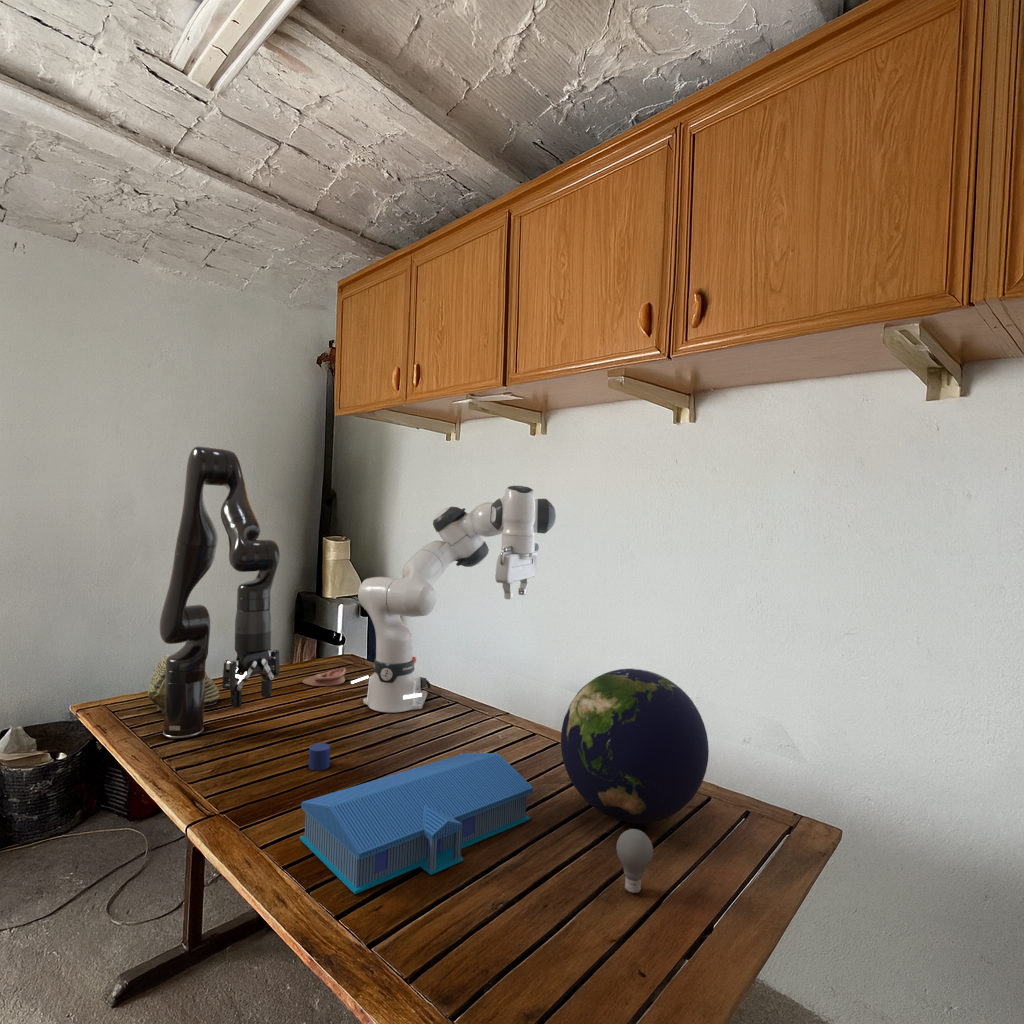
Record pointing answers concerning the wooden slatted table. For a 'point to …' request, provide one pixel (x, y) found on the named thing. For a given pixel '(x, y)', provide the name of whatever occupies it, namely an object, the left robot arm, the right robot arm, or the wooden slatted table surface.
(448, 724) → the wooden slatted table surface
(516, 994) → the wooden slatted table surface
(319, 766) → the canister
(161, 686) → the fossil
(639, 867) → the light bulb
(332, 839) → the model building
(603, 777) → the globe
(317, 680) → the anatomical model
